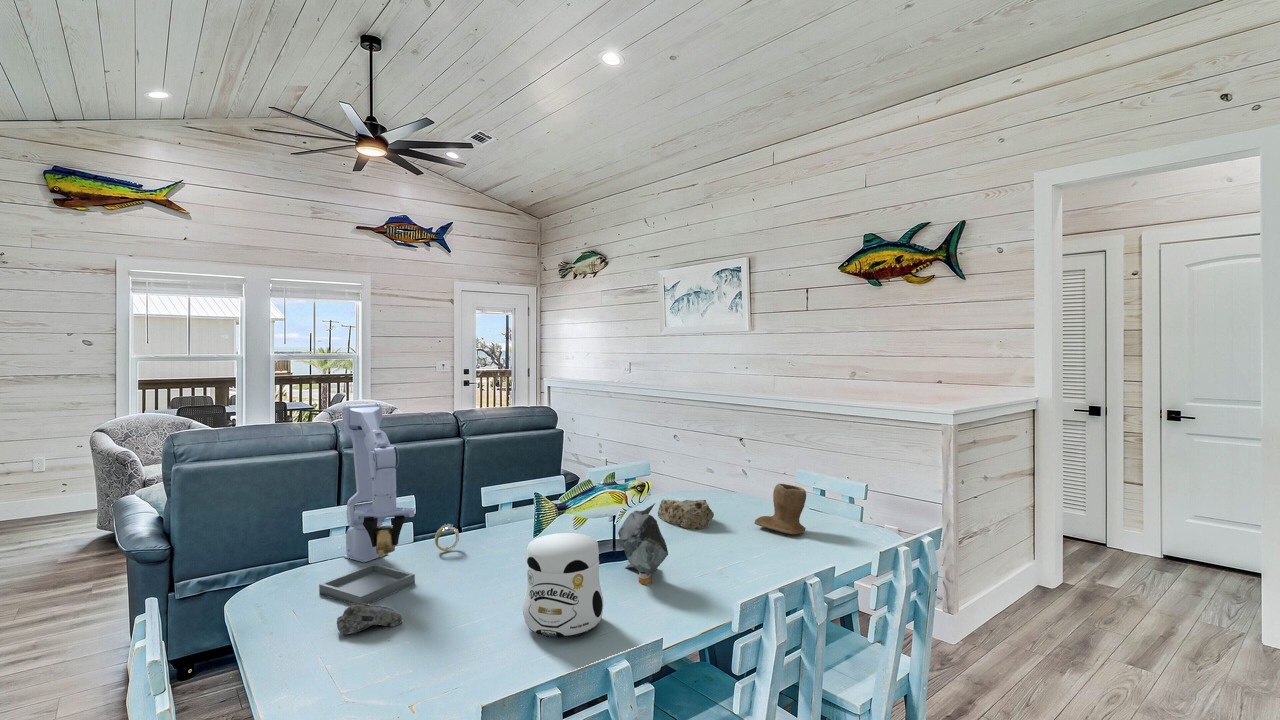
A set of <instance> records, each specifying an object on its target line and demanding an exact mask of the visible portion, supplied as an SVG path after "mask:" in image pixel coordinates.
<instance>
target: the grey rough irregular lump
mask: <svg viewBox="0 0 1280 720" xmlns="http://www.w3.org/2000/svg"><path fill="white" fill-rule="evenodd" d="M402 623H403V617H402V613H400V612H399V611H397V610H395V608H393V607H389V606H384V605H376V604H375V605H374V604H370V603H369V604H365V603H358V602H355V603H351V604H350V605H349V606H348V607H347V608H345V609H344V611H343V613H342V615H340V616H338V617H337V619H336V626H337V628H336V629H337V630H338V632H339V633H340V634H344V635H350V634H355V633H359V632H362V631H364V630H366V629H367V628H369V627H371V626H379V625H381V626H385V627H391V629H392V628H395V627H397V626H399V625H400V624H402Z"/></svg>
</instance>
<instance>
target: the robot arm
mask: <svg viewBox="0 0 1280 720" xmlns="http://www.w3.org/2000/svg"><path fill="white" fill-rule="evenodd" d="M341 413H342V425H343V426H342V428H343V432H344V434H345V435H346V436H350V439H351V443H352V450H353V463H354V477H355V487H356V488H355V489H356V492H355V493H354V494H353V495H352V496H351V497H350V498H349V499H348V500H347V503H346V520H347V525H348V526H349V527H348V529H347V531H346V532H345V533H346V534H345V549H346V550H345V551H346V552H345V553H346V554H344V555H343V558H346V559H349V558H350V560H352V561H353V560H354V561H358V562H362V563H367V562H370V561H373V560H375V559H378V558H379V557H378V553H376V528H378V527H381V526H383V523H384V522H386V520H387V518H388V519H389V518H393V519H392V520H391V524H392V526H393V533H394V536H393V545H394V546H395V547H396V546H398V544H399V539H400V534H401V531H402V528H403V525H404V524H405V521H406V519H407V518H413V517H415V515H416V514H415V513H416V512H415V507H397V469H398V466H399V461H400V460H399V459H400V457H399V450H398V448H397V446H396V445H394V444H391V442H390V440H389V438H388V435H387V433H386V432H385V431H384V430H382V429H381V428H380V425H381V422H382V421H383V420H382V419H383V408H382V405H381V404H380V403H379V402H375V403H374V402H372V403H359V404H357V403H356V404H345V405H344V406H343V407H342V412H341ZM388 554H389V553H387V554H385V555H384V556H386V555H388Z"/></svg>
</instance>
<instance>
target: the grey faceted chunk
mask: <svg viewBox="0 0 1280 720" xmlns="http://www.w3.org/2000/svg"><path fill="white" fill-rule="evenodd" d="M655 505H656V503H653V504H651V505H650V506H648V507H647V508H645V509H644V510H640V511H639V510H634V511H633V512H630V513H629V514H628V516H627V517H626V518H625V520H624V521H623V523H622V525H621V526H620V528H619V530H618V539H619V542H620V546H621V548H622V549H623V551H624V554H625V557H626V559H627V561H628V564H627V565H626V566H625V567H624V569H627V570H629V569H630V570H636V571H638V574H639V575H638V584H640V585H646V586H647V585H651V584H652V583H653V576H652V575H653V574H654V572H656V570H657V569H658V567H660V566H661V564H662V563H663V562H664V561H665V560H666V558H667V557H668V555H669V551H668V547H667V543H666V540H665V537H664V536H663V534H662V533H661V530H660V528H659V524H658V521H657V520H656V518H654V516H652V514H650V512H651V511H652V509H653V508H654V506H655Z"/></svg>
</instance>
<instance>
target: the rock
mask: <svg viewBox="0 0 1280 720" xmlns="http://www.w3.org/2000/svg"><path fill="white" fill-rule="evenodd" d="M714 516H715V514H714V511H713V510H712V509H711V508H710V506H709V504H708V502H707V500H706V499H698V500H693V499H691V500H689V499H686V500H683V501H681V500H680V501H679V500H675V499H662V500H661V501H660V504H659V507H658V511H657V517H658V518H659V519H661V520H663V521H664V522H667V523H670V524H674V525H675V524H676V525H680V526H681V527H683V528H685V529H686V530H695V531H696V530H701V529H704V528H706V527H708V526H709V525H710V522H711V521H712V520H713V518H714Z"/></svg>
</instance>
